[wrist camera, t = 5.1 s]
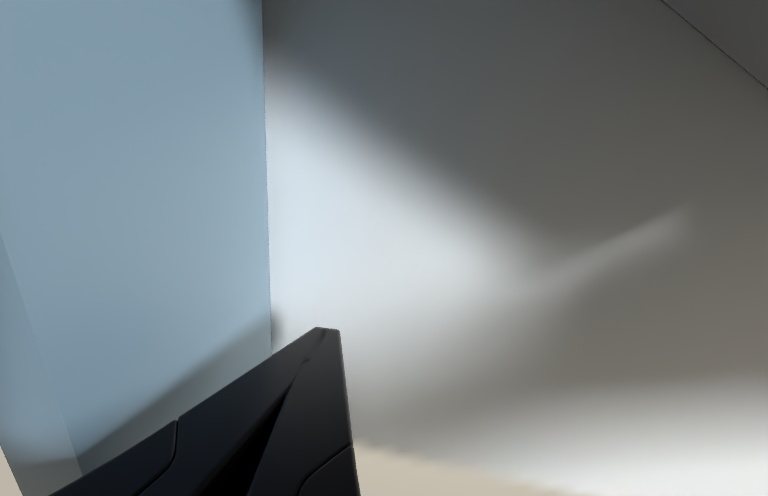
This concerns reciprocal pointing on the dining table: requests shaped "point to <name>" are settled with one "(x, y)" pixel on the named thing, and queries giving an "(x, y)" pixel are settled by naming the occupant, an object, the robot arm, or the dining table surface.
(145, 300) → the side door
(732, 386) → the dining table surface
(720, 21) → the grey block with knob
